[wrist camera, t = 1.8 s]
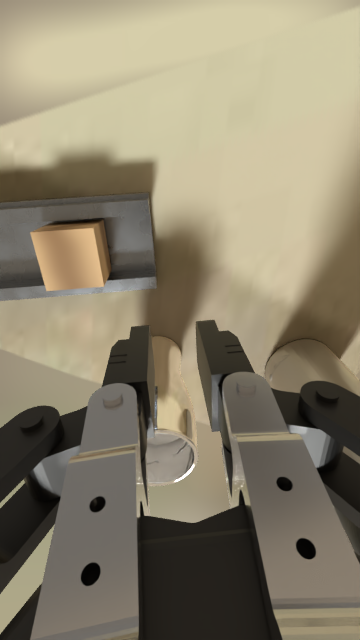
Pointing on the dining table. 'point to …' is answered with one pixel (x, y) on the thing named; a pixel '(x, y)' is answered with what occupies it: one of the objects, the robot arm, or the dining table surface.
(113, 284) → the chute
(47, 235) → the oak block
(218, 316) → the dining table surface
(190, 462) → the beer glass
